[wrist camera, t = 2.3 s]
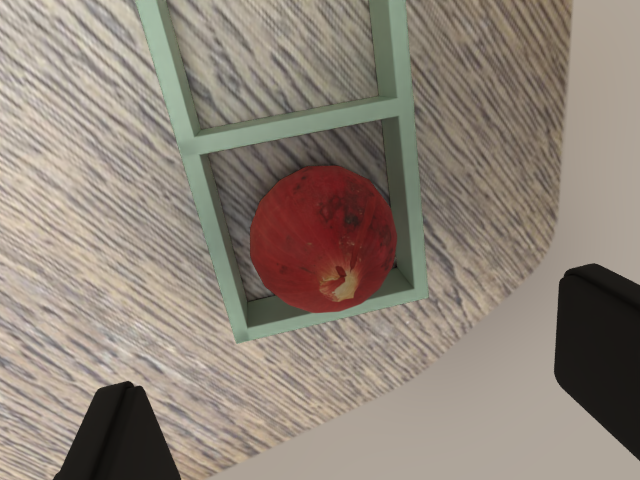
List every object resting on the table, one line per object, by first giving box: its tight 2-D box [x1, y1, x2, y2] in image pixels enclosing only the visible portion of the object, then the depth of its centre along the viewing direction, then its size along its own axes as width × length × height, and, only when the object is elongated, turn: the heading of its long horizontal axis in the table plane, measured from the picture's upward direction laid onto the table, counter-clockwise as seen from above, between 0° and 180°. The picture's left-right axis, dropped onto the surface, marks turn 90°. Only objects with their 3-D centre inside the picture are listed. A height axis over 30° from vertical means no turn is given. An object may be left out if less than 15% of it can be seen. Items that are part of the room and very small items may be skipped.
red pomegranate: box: [250, 165, 397, 313], centre depth 17 cm, size 6×6×8 cm
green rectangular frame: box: [135, 0, 429, 344], centre depth 17 cm, size 9×18×2 cm, turn 10°
